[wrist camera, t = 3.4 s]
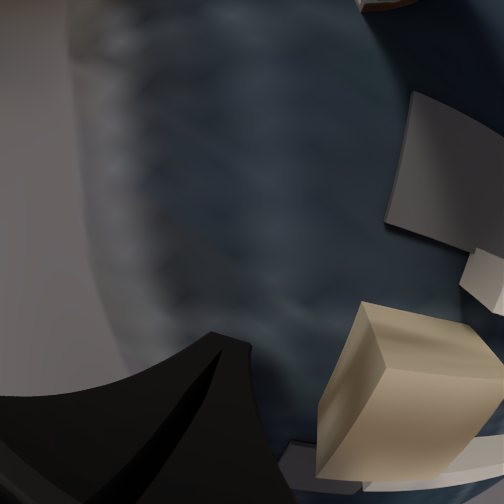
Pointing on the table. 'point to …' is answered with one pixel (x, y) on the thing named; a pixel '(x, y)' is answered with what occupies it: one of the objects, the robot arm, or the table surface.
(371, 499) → the table surface
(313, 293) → the table surface
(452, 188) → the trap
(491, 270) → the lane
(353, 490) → the plate
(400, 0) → the food container
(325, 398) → the birch block
